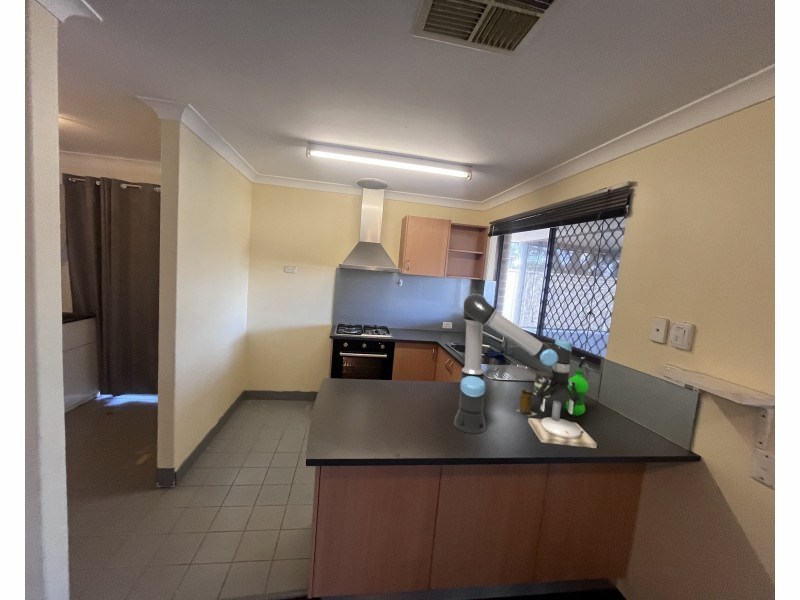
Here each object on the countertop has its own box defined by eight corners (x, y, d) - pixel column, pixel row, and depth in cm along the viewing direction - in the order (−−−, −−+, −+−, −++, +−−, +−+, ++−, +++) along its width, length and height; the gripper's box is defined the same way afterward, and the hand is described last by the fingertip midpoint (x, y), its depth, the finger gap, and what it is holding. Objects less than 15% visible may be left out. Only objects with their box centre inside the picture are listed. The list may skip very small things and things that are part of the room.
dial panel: (541, 442, 143) (542, 437, 143) (528, 421, 163) (528, 417, 162) (596, 448, 141) (597, 443, 140) (576, 426, 160) (576, 422, 160)
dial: (548, 436, 144) (551, 413, 143) (536, 419, 161) (538, 398, 160) (587, 440, 142) (590, 417, 141) (570, 422, 159) (573, 402, 158)
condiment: (524, 408, 179) (526, 388, 178) (537, 414, 172) (539, 393, 171) (515, 410, 176) (517, 389, 175) (528, 417, 168) (530, 395, 167)
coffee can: (551, 398, 196) (554, 376, 195) (534, 395, 199) (536, 374, 198) (549, 392, 206) (551, 372, 205) (532, 390, 209) (534, 369, 208)
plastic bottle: (564, 414, 174) (569, 371, 171) (564, 407, 183) (569, 366, 181) (585, 419, 169) (590, 374, 167) (584, 412, 178) (589, 369, 176)
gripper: (537, 370, 153) (533, 412, 155) (590, 375, 150) (585, 417, 152) (532, 366, 160) (528, 406, 162) (583, 370, 158) (578, 410, 160)
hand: (556, 411), depth 157 cm, fingers open, 13 cm apart
